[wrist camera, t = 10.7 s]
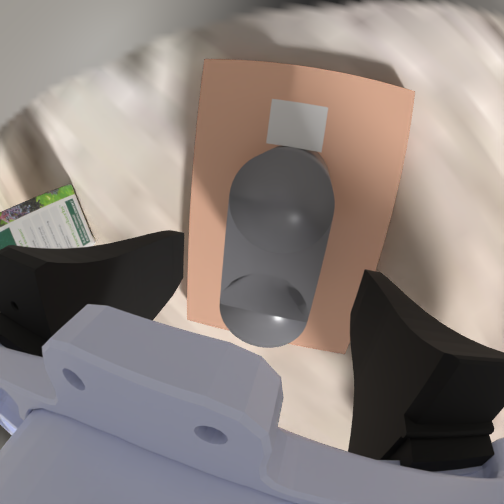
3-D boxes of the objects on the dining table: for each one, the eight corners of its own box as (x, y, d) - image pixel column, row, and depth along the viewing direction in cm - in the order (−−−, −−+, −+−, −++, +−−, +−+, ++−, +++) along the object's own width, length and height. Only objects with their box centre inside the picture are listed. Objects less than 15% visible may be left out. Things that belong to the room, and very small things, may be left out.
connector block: (305, 292, 19) (297, 354, 14) (245, 279, 20) (217, 336, 14) (340, 115, 15) (352, 108, 9) (267, 103, 15) (241, 91, 10)
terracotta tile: (344, 341, 22) (344, 354, 21) (194, 309, 24) (187, 319, 22) (407, 94, 14) (415, 91, 13) (212, 63, 16) (204, 58, 15)
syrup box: (98, 243, 23) (-34, 340, 10) (62, 259, 25) (-48, 341, 12) (73, 182, 22) (-76, 249, 9) (39, 206, 24) (-82, 270, 10)
